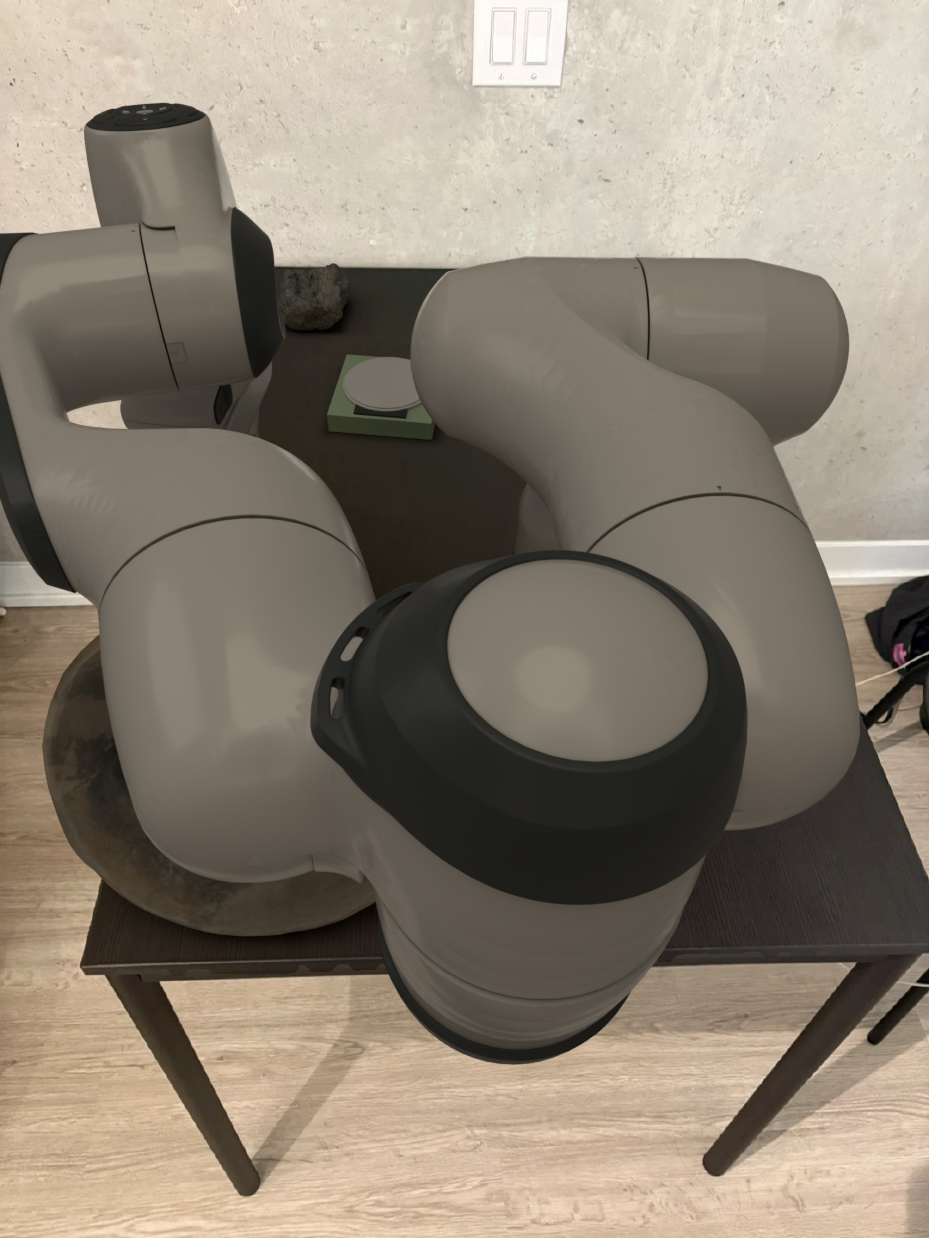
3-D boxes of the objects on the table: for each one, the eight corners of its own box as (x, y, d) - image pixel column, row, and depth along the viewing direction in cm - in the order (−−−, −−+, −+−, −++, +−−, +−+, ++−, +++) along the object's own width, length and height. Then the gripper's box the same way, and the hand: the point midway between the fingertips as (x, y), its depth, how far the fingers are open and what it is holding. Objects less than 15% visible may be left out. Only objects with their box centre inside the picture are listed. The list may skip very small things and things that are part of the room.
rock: (333, 348, 110) (332, 314, 106) (263, 325, 112) (260, 290, 108) (373, 300, 118) (374, 266, 114) (308, 279, 119) (306, 245, 115)
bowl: (175, 858, 75) (126, 986, 61) (53, 579, 65) (-37, 655, 51) (473, 783, 75) (493, 894, 61) (395, 493, 65) (397, 546, 51)
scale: (431, 440, 98) (431, 419, 96) (328, 431, 99) (326, 410, 97) (444, 378, 106) (444, 357, 104) (348, 371, 106) (346, 349, 104)
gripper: (200, 270, 70) (231, 409, 81) (109, 426, 57) (160, 567, 68) (276, 276, 70) (297, 415, 80) (202, 434, 57) (239, 574, 68)
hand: (234, 486), depth 74 cm, fingers open, 8 cm apart
